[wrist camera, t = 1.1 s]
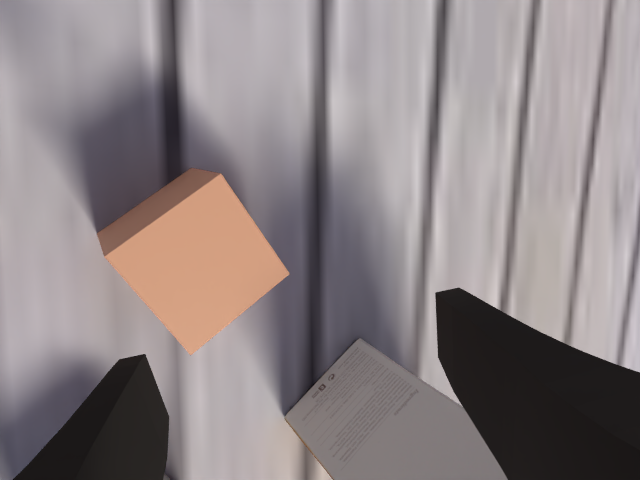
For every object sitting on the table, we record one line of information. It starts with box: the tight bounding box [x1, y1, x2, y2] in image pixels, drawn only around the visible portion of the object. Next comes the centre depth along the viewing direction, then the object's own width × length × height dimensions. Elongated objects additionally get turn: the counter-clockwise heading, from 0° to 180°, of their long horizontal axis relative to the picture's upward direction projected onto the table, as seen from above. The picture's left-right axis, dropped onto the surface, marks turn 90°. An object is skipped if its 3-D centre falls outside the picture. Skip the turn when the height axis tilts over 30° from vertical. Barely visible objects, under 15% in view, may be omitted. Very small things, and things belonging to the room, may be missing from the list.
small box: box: [285, 338, 508, 480], centre depth 24 cm, size 8×6×13 cm
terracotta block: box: [97, 168, 289, 355], centre depth 21 cm, size 5×5×5 cm
